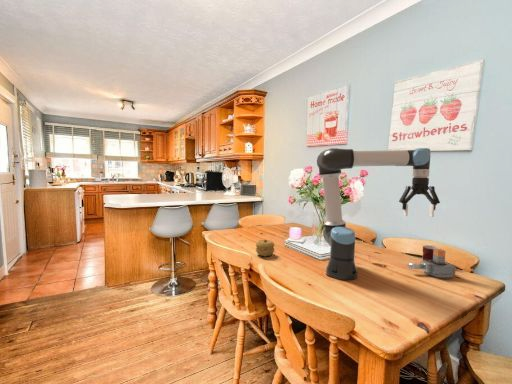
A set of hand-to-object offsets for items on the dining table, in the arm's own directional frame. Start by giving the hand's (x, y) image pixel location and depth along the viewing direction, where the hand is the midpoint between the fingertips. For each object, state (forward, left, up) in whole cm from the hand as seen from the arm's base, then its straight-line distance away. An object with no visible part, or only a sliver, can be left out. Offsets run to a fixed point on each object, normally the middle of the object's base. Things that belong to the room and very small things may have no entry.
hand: (418, 216), depth 140 cm
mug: (+10, +4, -29) cm, 31 cm away
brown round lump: (-84, +13, -29) cm, 90 cm away
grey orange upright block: (+6, -10, -27) cm, 29 cm away
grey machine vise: (+2, -10, -29) cm, 30 cm away
